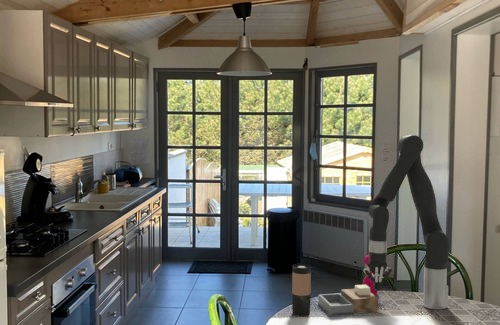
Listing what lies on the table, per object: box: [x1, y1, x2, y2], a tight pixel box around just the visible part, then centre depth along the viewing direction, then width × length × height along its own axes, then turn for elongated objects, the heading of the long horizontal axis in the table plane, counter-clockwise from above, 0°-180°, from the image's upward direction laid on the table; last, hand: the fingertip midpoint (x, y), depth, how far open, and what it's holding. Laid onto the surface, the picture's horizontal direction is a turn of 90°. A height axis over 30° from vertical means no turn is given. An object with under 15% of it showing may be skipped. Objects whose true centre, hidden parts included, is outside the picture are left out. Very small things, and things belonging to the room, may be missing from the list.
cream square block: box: [354, 284, 370, 295], centre depth 240 cm, size 5×5×3 cm
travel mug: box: [291, 263, 312, 317], centre depth 231 cm, size 8×8×20 cm
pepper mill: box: [362, 254, 378, 296], centre depth 258 cm, size 7×7×20 cm
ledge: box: [340, 288, 379, 314], centre depth 240 cm, size 11×14×6 cm
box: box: [317, 292, 355, 317], centre depth 238 cm, size 10×16×4 cm, turn 11°
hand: (377, 290), depth 241 cm, fingers closed
